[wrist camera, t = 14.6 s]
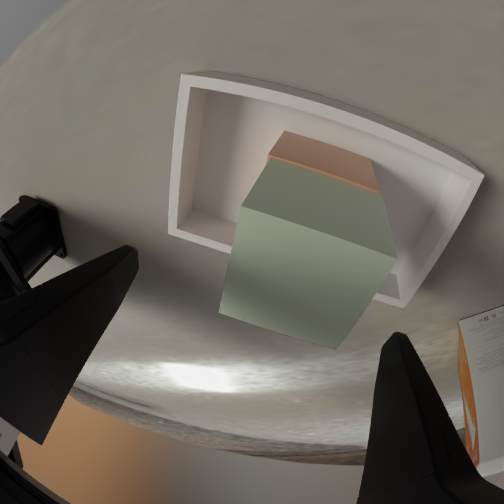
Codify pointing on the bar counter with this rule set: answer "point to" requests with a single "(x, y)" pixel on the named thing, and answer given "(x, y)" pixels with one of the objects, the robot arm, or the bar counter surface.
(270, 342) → the bar counter surface
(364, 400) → the bar counter surface
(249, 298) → the pale green block
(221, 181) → the tote
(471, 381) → the small box
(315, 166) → the brick
